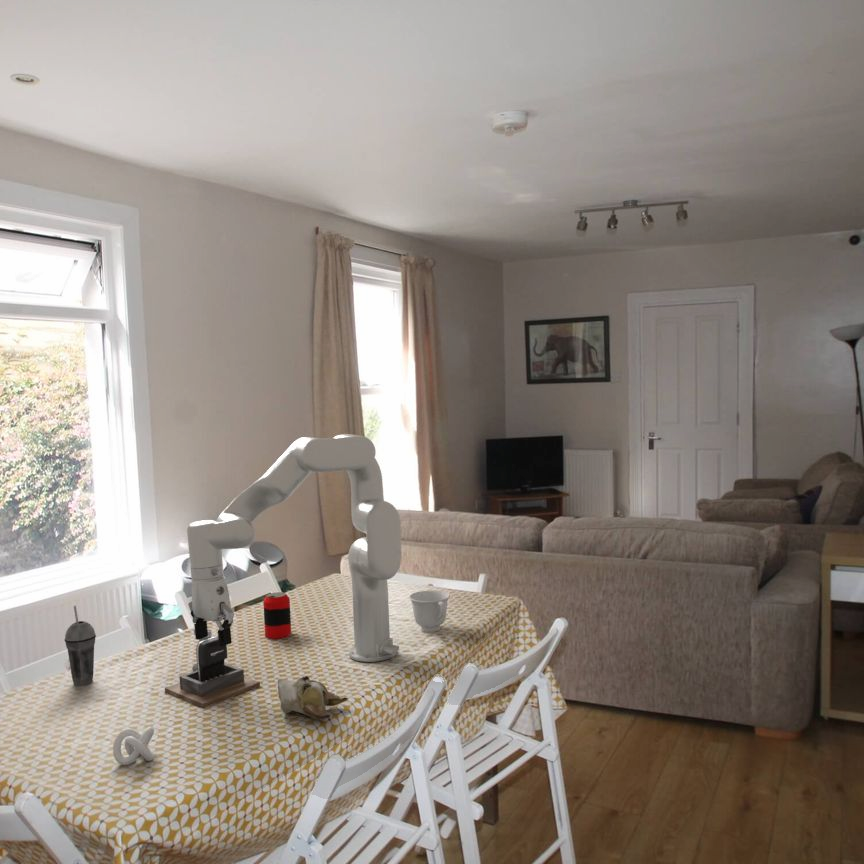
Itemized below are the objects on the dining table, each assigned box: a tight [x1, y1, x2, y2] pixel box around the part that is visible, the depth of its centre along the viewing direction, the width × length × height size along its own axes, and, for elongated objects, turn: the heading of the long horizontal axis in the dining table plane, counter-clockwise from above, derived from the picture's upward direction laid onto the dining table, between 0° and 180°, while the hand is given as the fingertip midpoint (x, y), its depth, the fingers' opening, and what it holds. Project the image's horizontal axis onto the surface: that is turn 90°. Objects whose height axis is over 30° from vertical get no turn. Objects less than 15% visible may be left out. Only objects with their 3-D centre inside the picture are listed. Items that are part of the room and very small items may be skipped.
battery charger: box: [195, 636, 228, 682], centre depth 192 cm, size 7×4×11 cm, turn 140°
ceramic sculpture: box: [277, 675, 349, 720], centre depth 176 cm, size 11×9×15 cm
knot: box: [112, 726, 155, 766], centre depth 157 cm, size 8×8×6 cm
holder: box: [164, 662, 261, 708], centre depth 192 cm, size 16×16×4 cm
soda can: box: [262, 591, 292, 640], centre depth 232 cm, size 8×8×12 cm
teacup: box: [408, 590, 451, 633], centre depth 232 cm, size 12×15×10 cm
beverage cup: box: [64, 605, 97, 687], centre depth 199 cm, size 7×7×20 cm
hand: (213, 641), depth 192 cm, fingers open, 9 cm apart
